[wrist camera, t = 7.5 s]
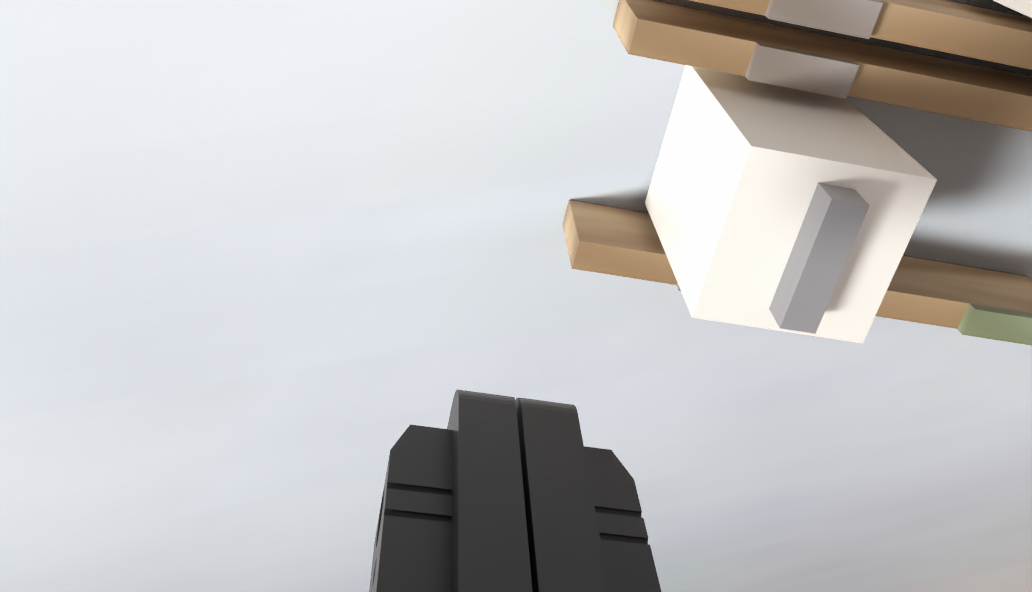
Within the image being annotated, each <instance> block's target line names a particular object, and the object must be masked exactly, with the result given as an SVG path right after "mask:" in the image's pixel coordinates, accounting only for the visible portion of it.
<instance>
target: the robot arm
mask: <svg viewBox="0 0 1032 592" xmlns="http://www.w3.org/2000/svg"><path fill="white" fill-rule="evenodd" d="M641 512H642V511H641V507H640V503H639V499H638V494H637V490H636V486H635V482H634V479H633V478H632V477H631V475H630V474H629V473H628V471H627V470H626V469H625V467H624V466H623V465H622V464H621V462H620V461H619V460H618V458H617V457H616V456H615V454H614V453H613V452H612V450H607V449H599V448H591V447H584V446H583V441H582V435H581V430H580V424H579V419H578V413H577V409H576V407H575V406H574V405H570V404H562V403H555V402H548V401H540V400H533V399H525V398H517V399H516V400H515V398H514V397H508V396H501V395H493V394H486V393H478V392H471V391H463V390H456V392H455V395H454V399H453V403H452V408H451V413H450V418H449V422H448V427H447V429H440V428H432V427H424V426H416V425H410V426H409V427H408V428H407V430H406V431H405V432H404V433H403V435H402V436H401V437H400V439H399V440H398V441H397V442H396V444H395V445H394V446H393V447H392V449H391V450H390V456H389V462H388V467H387V473H386V479H385V485H384V491H383V497H382V502H381V508H380V514H379V520H378V526H377V532H376V537H375V544H374V553H373V562H372V572H371V581H370V590H369V592H661V589H660V585H659V580H658V576H657V572H656V568H655V564H654V560H653V556H652V552H651V548H650V545H648V543H647V542H648V535H647V531H646V527H645V523H644V519H643V518H641Z"/></svg>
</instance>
